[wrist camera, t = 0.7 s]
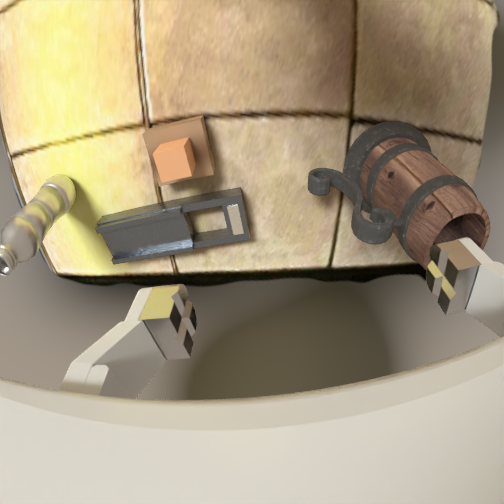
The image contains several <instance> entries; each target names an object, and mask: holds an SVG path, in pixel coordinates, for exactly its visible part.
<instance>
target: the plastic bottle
mask: <svg viewBox="0 0 504 504" xmlns="http://www.w3.org/2000/svg"><path fill="white" fill-rule="evenodd" d="M75 199H76V189H75V186H74V183H73V182H72V181H71V179H70V178H68V177H67V176H64V175H60V174H58V175H54V176H52V177H50V178H49V179H47V180H46V182H45V183H44V184H43V186H42V187H41V189H40V191H39V192H38V193H37V194H36V195H35V197H34V198H33V199H32V200H31V201H30V202H29V203H28V204H27V205H26V206H25V207H24V208H23V209H21V210H20V211H19V212H18V213H16V214H15V215H13V216H12V217H11V218H10V219H9V220H7V221H6V222H5V224H4V226H3V229H2V232H1V238H0V274H1V275H3V276H8V275H9V274H10V273H11V272H12V270H14V268H15V267H16V266H17V263H22V262H26V261H29V260H30V259H31V258H33V257H34V256H35V255H36V253H37V251H38V249H39V247H40V245H41V243H42V241H43V239H44V237H45V236H46V234H47V233H48V231H49V229H50V228H51V227H52V225H53V224H54V223H55V222H56V221H57V220H58V219H59V218H60V217H61V216H63V215H64V214H65V213H67V212H68V211H69V210H70V209H71V207H72V205H73V204H74V202H75Z"/></svg>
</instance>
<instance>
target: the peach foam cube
mask: <svg viewBox="0 0 504 504" xmlns="http://www.w3.org/2000/svg"><path fill="white" fill-rule="evenodd" d="M153 157H154V160H155V163H156V167H157V170H158V173H159V176H160V179H161V182H162V183H163V182H167V181H172V180H176V179H181V178H186V177H190V176H192V175H193V172H194V169H195V166H196V162H195V158H194V155H193V151H192V147H191V143H190V139H189V137H187V138H183V139H179V140H175V141H171V142H167V143H163V144H160V145H159V146H158V148H157V149H156V150H155V152H154V153H153Z"/></svg>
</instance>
